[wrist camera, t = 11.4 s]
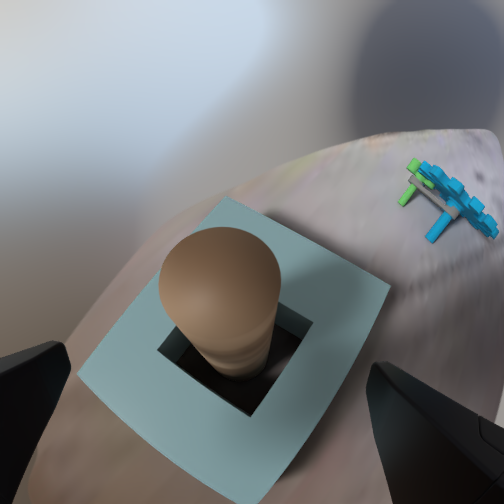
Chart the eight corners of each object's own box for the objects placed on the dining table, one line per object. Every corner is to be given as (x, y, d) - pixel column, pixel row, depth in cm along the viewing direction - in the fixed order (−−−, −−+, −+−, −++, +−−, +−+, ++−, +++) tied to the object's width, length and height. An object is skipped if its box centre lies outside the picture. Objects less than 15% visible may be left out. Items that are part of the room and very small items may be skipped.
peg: (253, 390, 19) (249, 360, 8) (201, 366, 20) (136, 306, 9) (276, 340, 21) (298, 250, 10) (225, 318, 22) (195, 213, 11)
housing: (252, 491, 15) (251, 511, 12) (107, 383, 19) (76, 373, 15) (368, 309, 22) (390, 285, 18) (230, 230, 26) (225, 195, 22)
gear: (498, 235, 23) (508, 215, 16) (465, 277, 26) (463, 275, 18) (426, 171, 29) (406, 134, 22) (397, 211, 32) (367, 186, 24)
